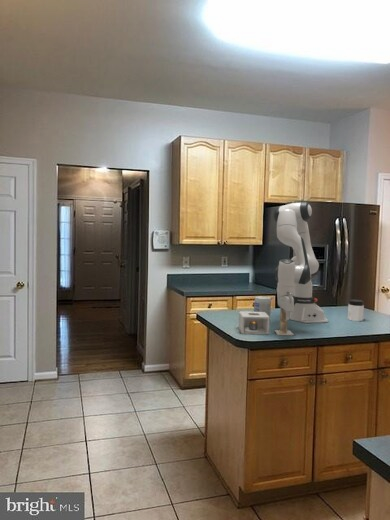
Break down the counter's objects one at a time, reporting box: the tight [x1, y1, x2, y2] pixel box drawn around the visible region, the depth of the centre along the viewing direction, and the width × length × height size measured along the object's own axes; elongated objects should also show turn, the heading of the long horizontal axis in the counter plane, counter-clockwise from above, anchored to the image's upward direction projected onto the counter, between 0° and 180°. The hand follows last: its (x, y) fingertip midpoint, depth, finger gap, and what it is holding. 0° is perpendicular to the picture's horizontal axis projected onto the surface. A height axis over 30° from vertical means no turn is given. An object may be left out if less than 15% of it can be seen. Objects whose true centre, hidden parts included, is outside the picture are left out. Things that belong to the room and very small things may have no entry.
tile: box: [274, 329, 294, 337], centre depth 212 cm, size 8×8×1 cm
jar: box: [347, 299, 365, 322], centre depth 251 cm, size 9×8×12 cm
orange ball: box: [250, 321, 257, 330], centre depth 217 cm, size 4×4×4 cm
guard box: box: [238, 310, 271, 335], centre depth 217 cm, size 14×14×9 cm
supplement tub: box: [253, 295, 272, 324], centre depth 237 cm, size 10×10×15 cm
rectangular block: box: [279, 309, 288, 333], centre depth 212 cm, size 3×3×12 cm
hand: (285, 317), depth 212 cm, fingers open, 8 cm apart
